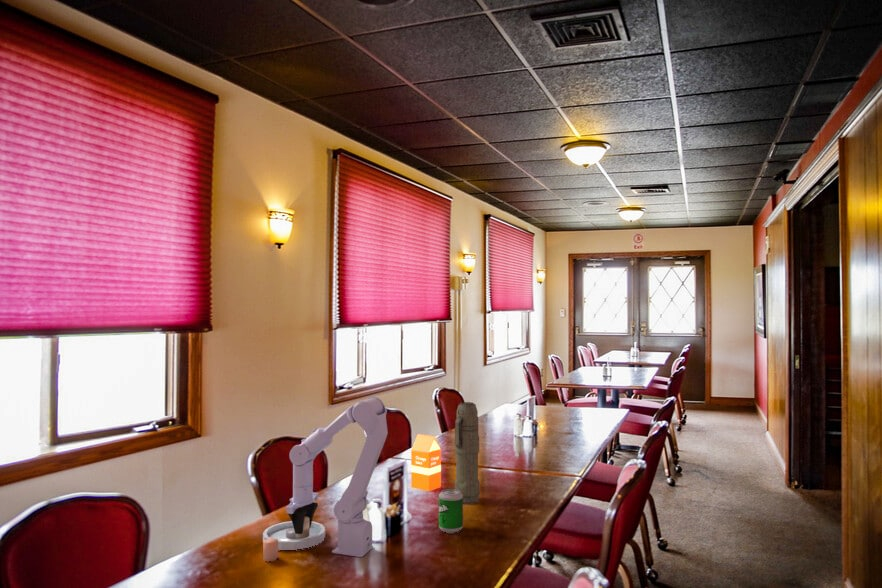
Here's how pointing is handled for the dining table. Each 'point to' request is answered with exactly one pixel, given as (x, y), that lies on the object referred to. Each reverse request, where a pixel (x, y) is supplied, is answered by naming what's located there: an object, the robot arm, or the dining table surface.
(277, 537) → the groove tray
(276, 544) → the ball
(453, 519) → the soda can
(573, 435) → the dining table surface
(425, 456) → the orange juice
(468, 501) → the thermos
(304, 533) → the maple bead
